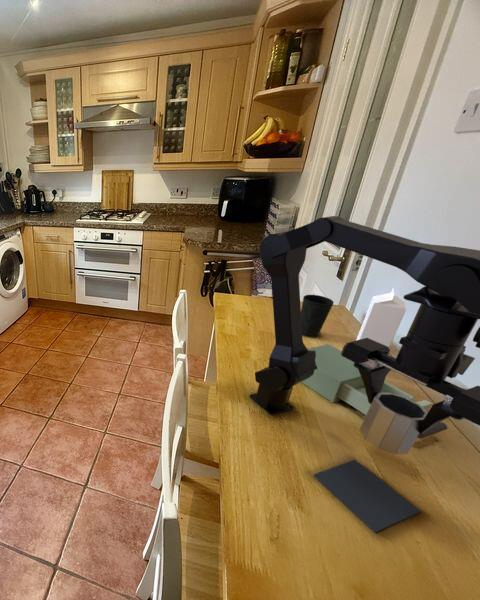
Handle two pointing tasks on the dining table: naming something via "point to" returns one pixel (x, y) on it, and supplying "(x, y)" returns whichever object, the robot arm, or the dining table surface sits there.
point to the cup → (314, 314)
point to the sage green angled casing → (331, 372)
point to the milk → (383, 318)
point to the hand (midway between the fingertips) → (395, 417)
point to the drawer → (358, 397)
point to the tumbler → (392, 423)
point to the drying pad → (366, 495)
